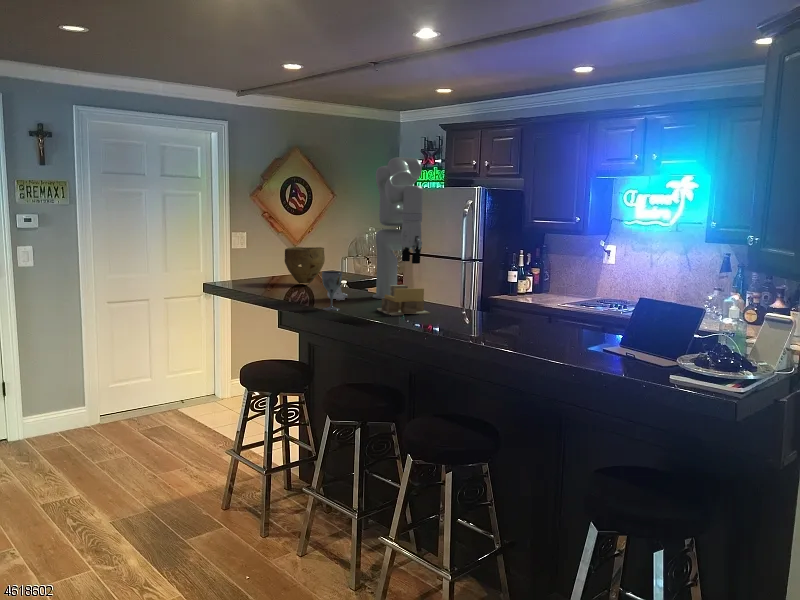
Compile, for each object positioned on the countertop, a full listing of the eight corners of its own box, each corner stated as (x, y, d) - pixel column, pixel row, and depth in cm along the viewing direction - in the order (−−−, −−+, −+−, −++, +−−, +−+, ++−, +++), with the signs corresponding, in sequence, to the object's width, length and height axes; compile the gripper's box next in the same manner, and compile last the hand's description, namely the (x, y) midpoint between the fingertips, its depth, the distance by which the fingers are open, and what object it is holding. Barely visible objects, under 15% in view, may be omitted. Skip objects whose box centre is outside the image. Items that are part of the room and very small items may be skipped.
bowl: (297, 288, 324) (298, 248, 322) (276, 284, 339) (277, 246, 337) (332, 286, 338) (332, 248, 335) (310, 282, 353) (311, 245, 350)
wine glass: (338, 311, 257) (338, 273, 255) (318, 309, 259) (319, 272, 257) (343, 308, 265) (344, 271, 263) (325, 307, 267) (325, 270, 265)
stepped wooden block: (376, 309, 264) (377, 285, 263) (414, 308, 271) (415, 284, 270) (390, 315, 251) (391, 289, 249) (430, 314, 257) (431, 288, 256)
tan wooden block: (384, 298, 262) (384, 285, 261) (411, 297, 267) (411, 285, 266) (395, 302, 252) (396, 289, 251) (423, 301, 257) (423, 288, 256)
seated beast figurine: (344, 301, 287) (344, 273, 285) (324, 300, 287) (325, 273, 286) (348, 298, 296) (348, 272, 294) (329, 297, 297) (329, 271, 295)
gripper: (394, 217, 258) (393, 260, 260) (412, 218, 242) (410, 264, 244) (412, 217, 260) (410, 260, 263) (430, 219, 245) (428, 264, 247)
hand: (410, 262), depth 254 cm, fingers open, 9 cm apart
